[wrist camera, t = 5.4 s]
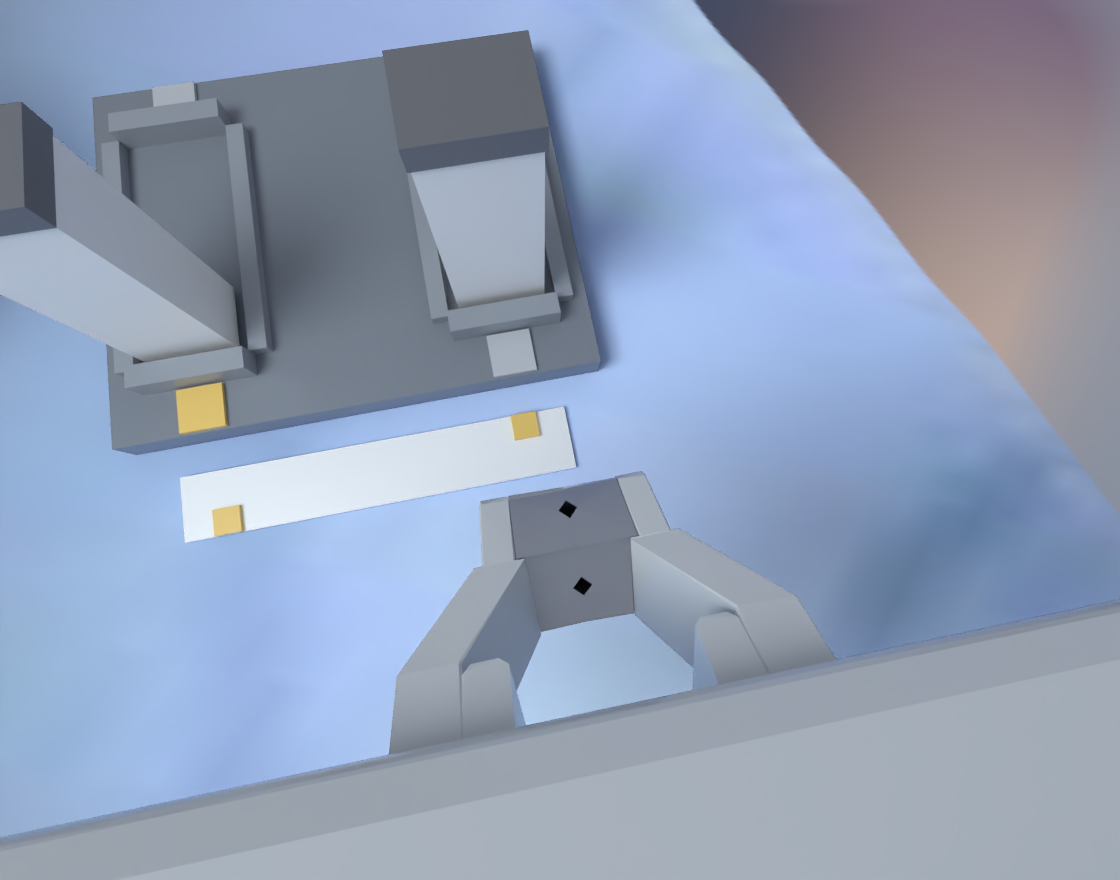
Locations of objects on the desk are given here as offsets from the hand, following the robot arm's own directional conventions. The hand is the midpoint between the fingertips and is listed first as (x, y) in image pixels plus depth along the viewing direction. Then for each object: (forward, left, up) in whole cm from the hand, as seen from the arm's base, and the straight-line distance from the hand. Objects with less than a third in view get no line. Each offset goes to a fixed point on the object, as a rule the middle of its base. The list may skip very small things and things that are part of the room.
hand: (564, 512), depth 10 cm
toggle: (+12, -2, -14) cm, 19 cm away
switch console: (+15, +5, -16) cm, 23 cm away
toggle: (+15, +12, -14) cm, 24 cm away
